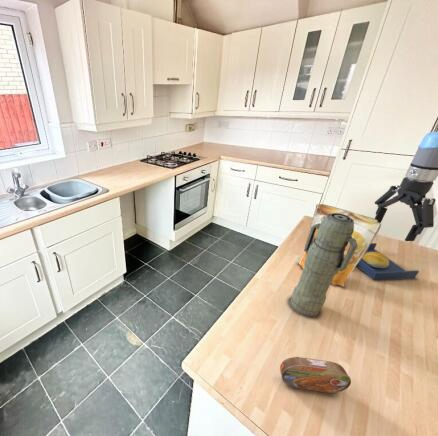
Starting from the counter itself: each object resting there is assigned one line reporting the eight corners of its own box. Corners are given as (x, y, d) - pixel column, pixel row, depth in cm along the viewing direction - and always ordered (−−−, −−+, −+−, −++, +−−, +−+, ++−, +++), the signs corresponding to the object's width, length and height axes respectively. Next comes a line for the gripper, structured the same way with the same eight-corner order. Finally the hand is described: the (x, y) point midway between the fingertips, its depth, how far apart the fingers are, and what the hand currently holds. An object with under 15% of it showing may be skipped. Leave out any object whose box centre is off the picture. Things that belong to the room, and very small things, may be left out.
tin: (278, 384, 62) (286, 365, 58) (275, 372, 64) (282, 352, 60) (344, 396, 59) (358, 376, 55) (338, 382, 62) (350, 363, 58)
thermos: (315, 325, 77) (359, 230, 60) (280, 300, 86) (310, 213, 69) (329, 312, 81) (374, 221, 64) (294, 290, 90) (325, 205, 73)
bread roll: (358, 262, 102) (362, 254, 100) (365, 254, 107) (368, 246, 105) (384, 272, 96) (389, 264, 94) (389, 263, 101) (394, 255, 99)
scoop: (372, 249, 111) (375, 243, 109) (414, 278, 94) (419, 271, 92) (317, 251, 110) (320, 245, 109) (350, 281, 93) (353, 274, 92)
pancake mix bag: (300, 258, 106) (321, 200, 92) (352, 284, 92) (385, 219, 78) (292, 264, 103) (312, 205, 89) (344, 291, 89) (377, 226, 75)
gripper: (377, 169, 95) (356, 216, 105) (448, 193, 73) (414, 250, 83) (395, 168, 95) (373, 215, 105) (473, 191, 73) (436, 249, 83)
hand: (391, 231), depth 94 cm, fingers open, 13 cm apart
